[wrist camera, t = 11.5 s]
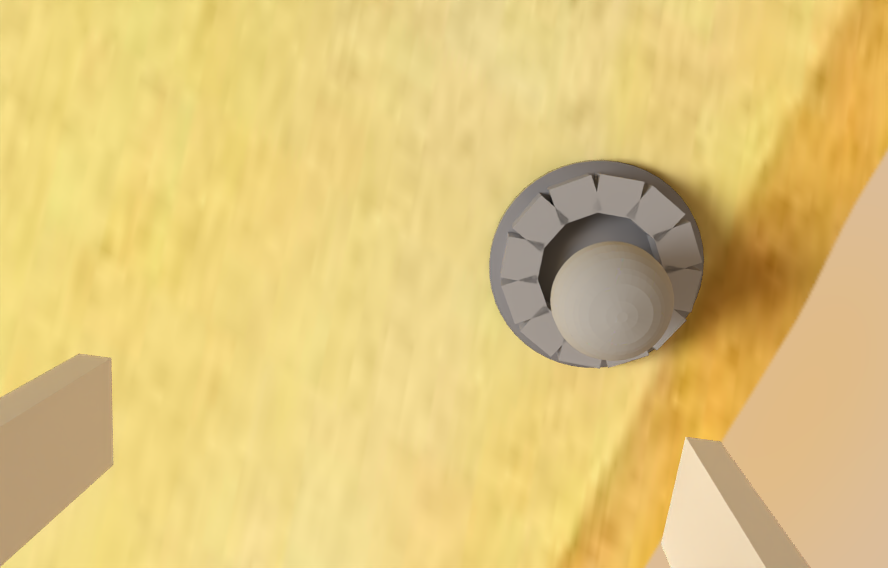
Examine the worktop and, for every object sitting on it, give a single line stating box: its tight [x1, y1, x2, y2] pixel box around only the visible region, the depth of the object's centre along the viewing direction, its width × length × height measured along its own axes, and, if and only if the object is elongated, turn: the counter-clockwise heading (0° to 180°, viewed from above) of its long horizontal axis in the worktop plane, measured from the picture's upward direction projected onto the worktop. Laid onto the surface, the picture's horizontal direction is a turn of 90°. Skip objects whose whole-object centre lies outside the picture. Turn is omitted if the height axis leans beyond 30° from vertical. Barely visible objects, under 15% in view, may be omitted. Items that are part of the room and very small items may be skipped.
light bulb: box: [550, 241, 674, 361], centre depth 32 cm, size 6×5×10 cm
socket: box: [490, 160, 704, 368], centre depth 36 cm, size 12×12×3 cm
